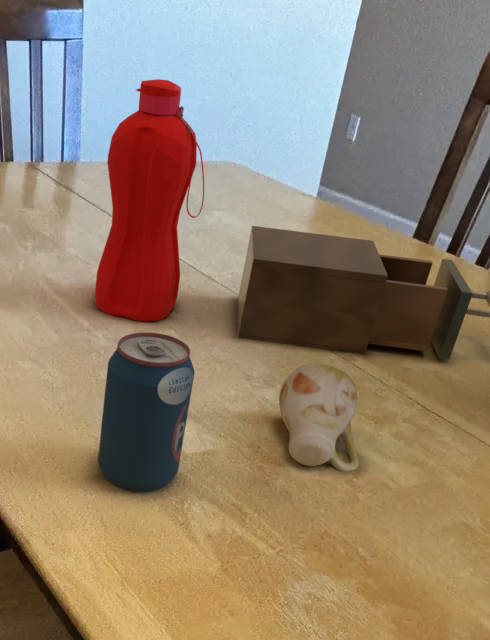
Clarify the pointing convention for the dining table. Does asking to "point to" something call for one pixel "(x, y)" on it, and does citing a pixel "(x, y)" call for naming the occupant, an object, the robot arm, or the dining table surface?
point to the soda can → (145, 411)
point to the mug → (319, 414)
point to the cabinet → (310, 290)
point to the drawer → (423, 306)
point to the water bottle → (147, 206)
